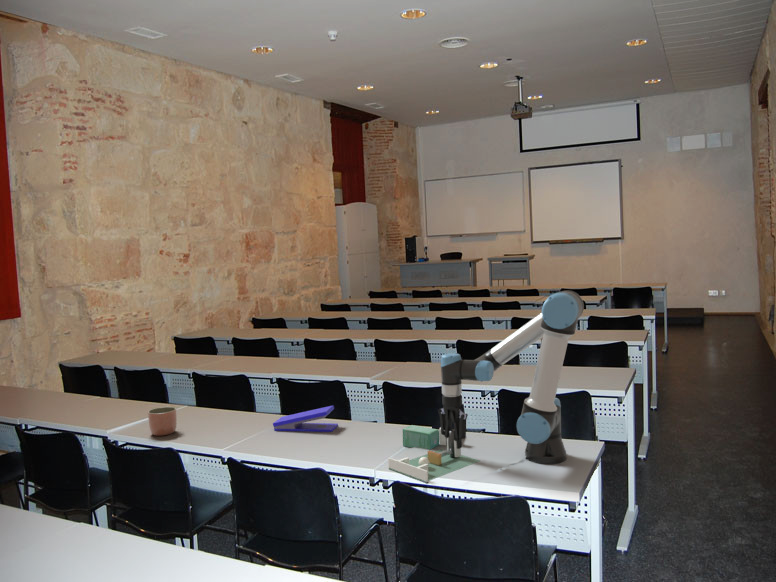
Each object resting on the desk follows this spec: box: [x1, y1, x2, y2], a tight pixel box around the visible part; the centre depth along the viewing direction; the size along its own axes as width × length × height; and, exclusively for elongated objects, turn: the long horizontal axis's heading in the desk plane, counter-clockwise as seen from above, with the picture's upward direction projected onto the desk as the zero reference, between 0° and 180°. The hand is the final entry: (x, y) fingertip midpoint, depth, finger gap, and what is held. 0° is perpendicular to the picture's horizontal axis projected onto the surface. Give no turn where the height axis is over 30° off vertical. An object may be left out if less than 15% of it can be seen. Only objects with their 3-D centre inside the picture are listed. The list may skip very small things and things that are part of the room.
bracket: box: [438, 426, 447, 446], centre depth 259 cm, size 13×7×8 cm, turn 166°
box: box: [402, 424, 440, 450], centre depth 255 cm, size 7×14×8 cm, turn 55°
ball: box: [419, 457, 430, 466], centre depth 228 cm, size 4×4×4 cm
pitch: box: [387, 448, 481, 484], centre depth 232 cm, size 20×28×4 cm
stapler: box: [272, 405, 339, 433], centre depth 289 cm, size 12×28×10 cm, turn 78°
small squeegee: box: [426, 428, 456, 466], centre depth 235 cm, size 6×13×10 cm, turn 131°
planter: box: [147, 406, 178, 437], centre depth 290 cm, size 12×12×11 cm
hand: (454, 455), depth 239 cm, fingers closed on small squeegee, 3 cm apart
